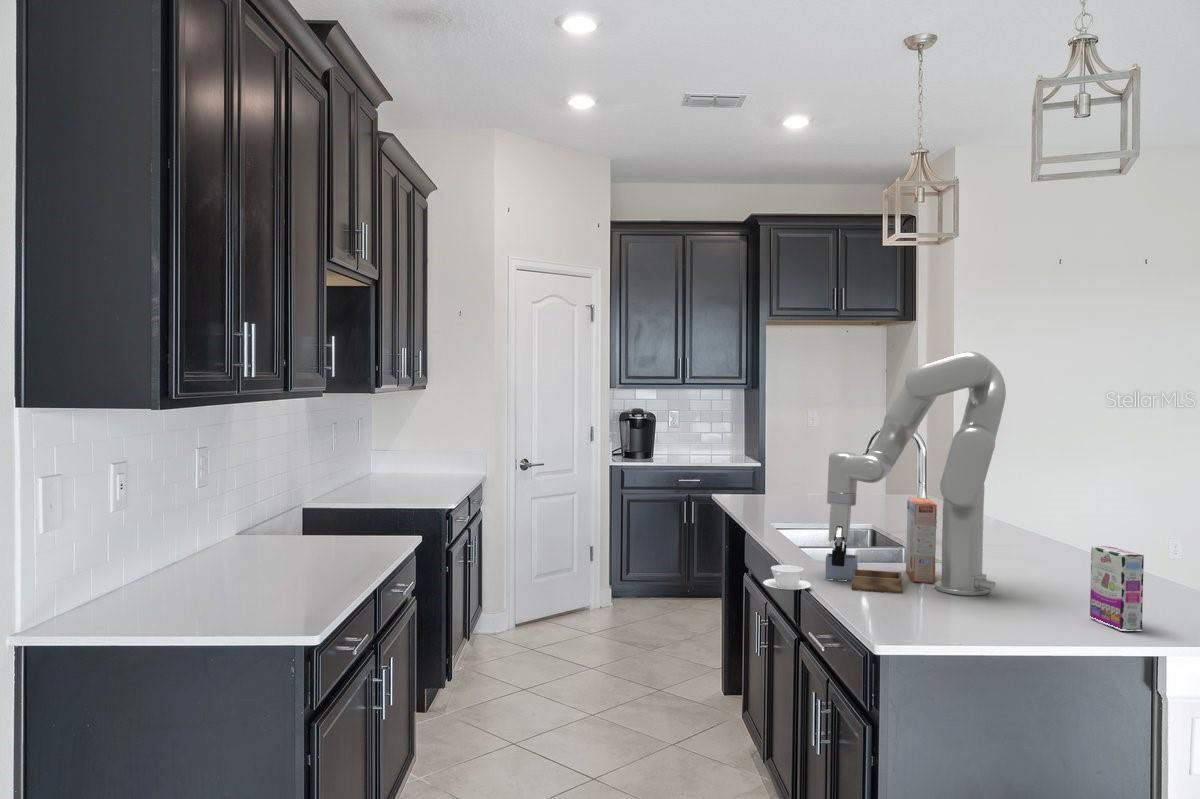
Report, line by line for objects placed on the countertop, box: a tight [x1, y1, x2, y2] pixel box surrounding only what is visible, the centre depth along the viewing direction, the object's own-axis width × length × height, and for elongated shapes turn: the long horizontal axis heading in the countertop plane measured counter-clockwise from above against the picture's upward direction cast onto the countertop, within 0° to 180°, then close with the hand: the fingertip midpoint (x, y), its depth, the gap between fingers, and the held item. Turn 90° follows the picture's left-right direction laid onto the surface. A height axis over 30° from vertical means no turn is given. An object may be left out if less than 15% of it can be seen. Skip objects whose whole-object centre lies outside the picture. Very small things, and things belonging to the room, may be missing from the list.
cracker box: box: [905, 497, 938, 584], centre depth 243 cm, size 14×6×21 cm, turn 168°
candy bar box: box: [1089, 545, 1145, 631], centre depth 196 cm, size 11×5×16 cm, turn 5°
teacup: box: [762, 564, 812, 592], centre depth 229 cm, size 12×12×5 cm
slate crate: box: [825, 553, 859, 582], centre depth 241 cm, size 8×6×6 cm
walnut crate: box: [851, 569, 903, 594], centre depth 230 cm, size 12×9×4 cm
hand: (838, 562), depth 241 cm, fingers open, 9 cm apart
